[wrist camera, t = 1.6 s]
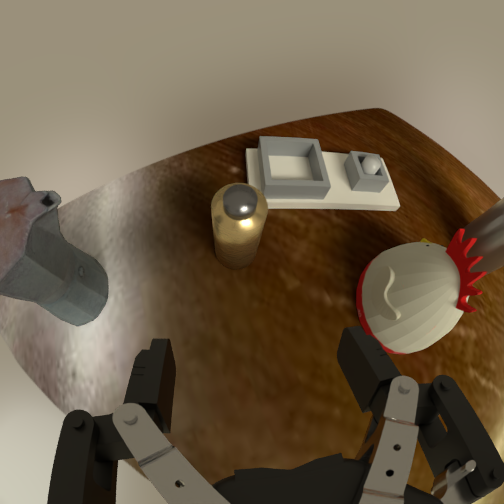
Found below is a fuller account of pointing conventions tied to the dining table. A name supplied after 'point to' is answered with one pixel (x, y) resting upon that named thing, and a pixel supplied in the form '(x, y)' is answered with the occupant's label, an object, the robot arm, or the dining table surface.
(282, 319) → the dining table surface
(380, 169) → the white tray
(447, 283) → the kitchen timer
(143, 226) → the dining table surface
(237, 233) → the gold bottle
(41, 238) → the moka pot
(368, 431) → the robot arm
